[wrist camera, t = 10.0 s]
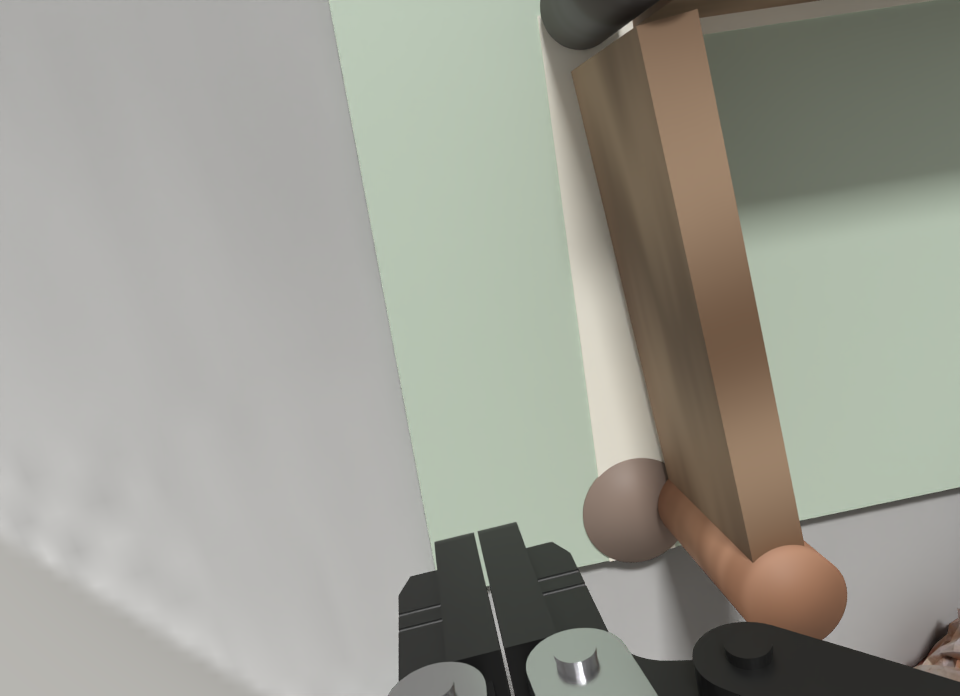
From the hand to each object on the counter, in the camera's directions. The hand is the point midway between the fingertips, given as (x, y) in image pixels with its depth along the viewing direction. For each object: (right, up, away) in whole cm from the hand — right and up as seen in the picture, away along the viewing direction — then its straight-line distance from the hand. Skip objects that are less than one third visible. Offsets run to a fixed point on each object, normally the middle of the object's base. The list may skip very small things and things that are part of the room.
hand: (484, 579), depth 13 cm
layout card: (+8, +9, +7) cm, 14 cm away
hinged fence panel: (+4, +6, +7) cm, 10 cm away
